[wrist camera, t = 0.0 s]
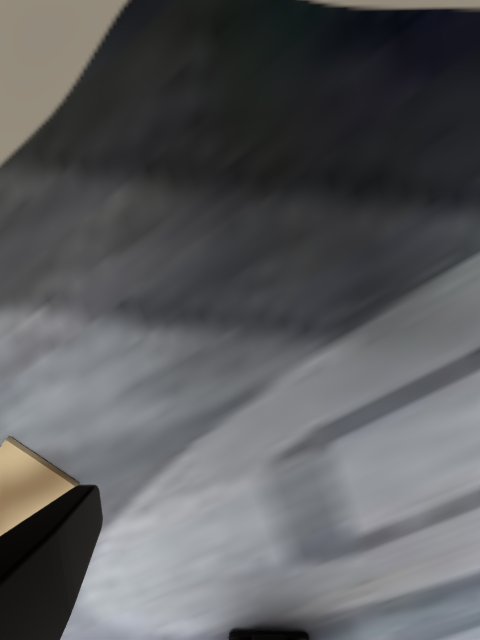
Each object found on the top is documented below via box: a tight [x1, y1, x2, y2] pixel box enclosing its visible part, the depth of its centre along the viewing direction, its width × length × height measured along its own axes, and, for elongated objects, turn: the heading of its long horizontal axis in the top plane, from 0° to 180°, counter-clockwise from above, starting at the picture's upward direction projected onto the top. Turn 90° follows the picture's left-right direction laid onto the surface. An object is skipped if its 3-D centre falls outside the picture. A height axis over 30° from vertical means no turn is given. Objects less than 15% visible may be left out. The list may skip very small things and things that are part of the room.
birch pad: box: [0, 437, 80, 536], centre depth 24 cm, size 6×8×1 cm
